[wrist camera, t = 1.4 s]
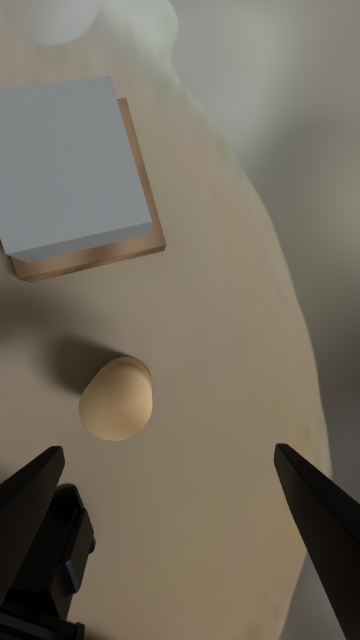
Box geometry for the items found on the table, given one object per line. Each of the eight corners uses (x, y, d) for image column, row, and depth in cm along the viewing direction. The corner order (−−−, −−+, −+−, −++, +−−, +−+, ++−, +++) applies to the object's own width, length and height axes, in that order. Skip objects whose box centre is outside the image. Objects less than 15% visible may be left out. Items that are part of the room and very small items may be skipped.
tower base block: (35, 283, 18) (18, 278, 16) (-11, 145, 17) (-37, 118, 15) (163, 252, 20) (166, 244, 18) (128, 125, 19) (125, 98, 17)
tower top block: (27, 263, 16) (5, 254, 14) (-19, 130, 15) (-51, 95, 13) (151, 233, 17) (151, 221, 15) (115, 111, 17) (110, 76, 14)
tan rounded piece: (106, 415, 19) (91, 451, 14) (90, 365, 19) (69, 384, 14) (157, 398, 20) (160, 426, 15) (143, 349, 19) (141, 362, 15)
